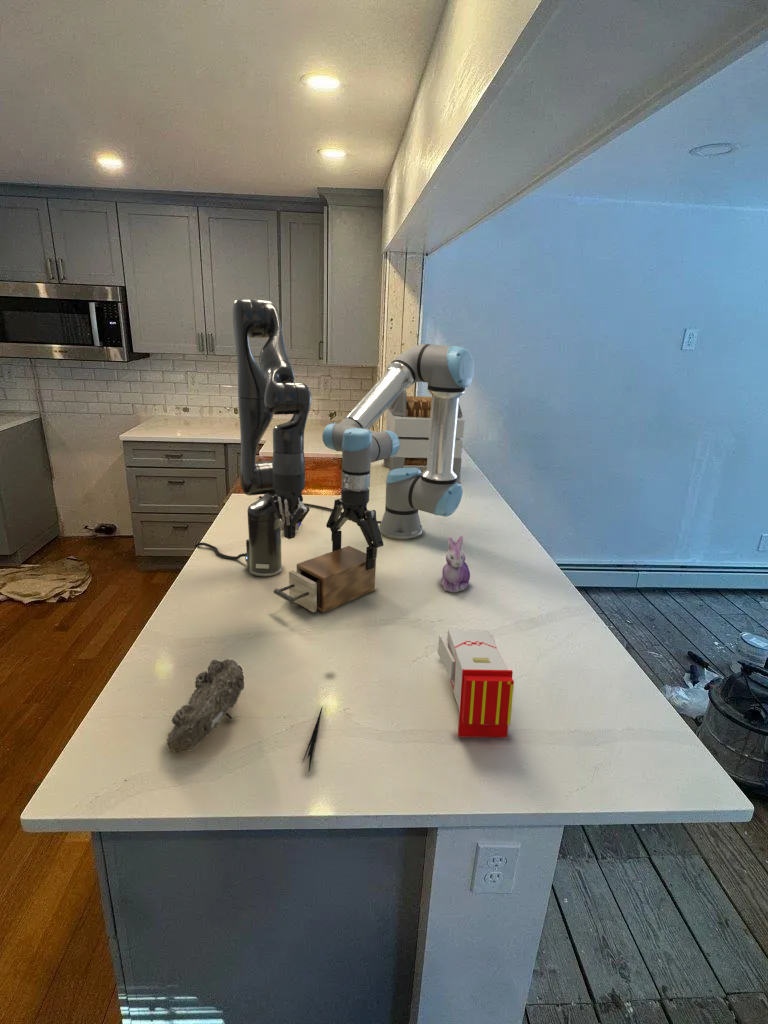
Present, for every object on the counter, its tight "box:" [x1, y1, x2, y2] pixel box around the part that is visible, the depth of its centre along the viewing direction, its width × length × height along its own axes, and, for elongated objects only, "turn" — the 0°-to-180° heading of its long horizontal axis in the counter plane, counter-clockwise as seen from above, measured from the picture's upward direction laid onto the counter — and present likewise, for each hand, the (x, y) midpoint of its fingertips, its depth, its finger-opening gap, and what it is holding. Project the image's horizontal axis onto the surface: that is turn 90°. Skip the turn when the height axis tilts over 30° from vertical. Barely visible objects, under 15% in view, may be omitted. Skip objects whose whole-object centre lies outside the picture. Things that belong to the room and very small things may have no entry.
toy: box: [437, 628, 515, 738], centre depth 117 cm, size 12×13×30 cm
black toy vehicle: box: [281, 519, 302, 531], centre depth 198 cm, size 7×8×15 cm
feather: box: [301, 673, 332, 771], centre depth 108 cm, size 2×28×2 cm
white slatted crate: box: [383, 389, 465, 484], centre depth 268 cm, size 34×33×41 cm
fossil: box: [166, 658, 245, 754], centre depth 106 cm, size 22×10×15 cm
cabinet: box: [296, 545, 377, 614], centre depth 155 cm, size 19×11×10 cm, turn 136°
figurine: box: [440, 535, 471, 593], centre depth 161 cm, size 9×10×15 cm
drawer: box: [273, 569, 322, 613], centre depth 150 cm, size 24×10×8 cm, turn 136°
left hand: (289, 537), depth 139 cm, fingers closed
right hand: (352, 560), depth 157 cm, fingers open, 13 cm apart
